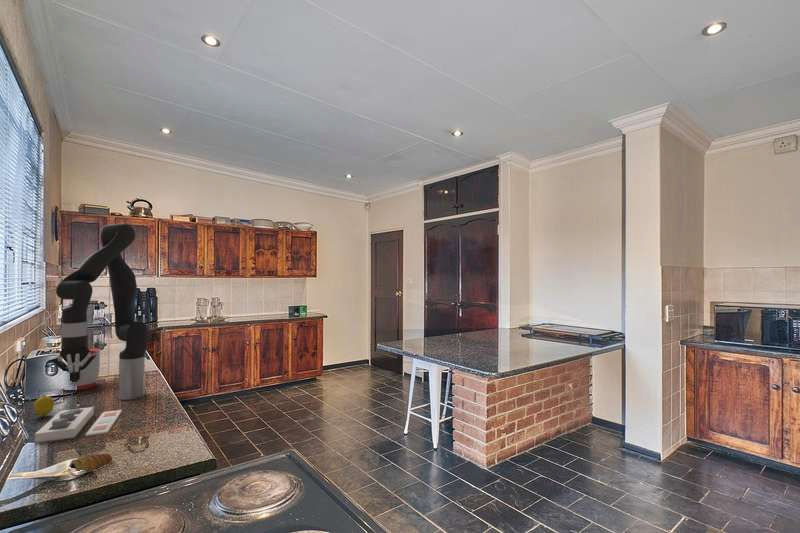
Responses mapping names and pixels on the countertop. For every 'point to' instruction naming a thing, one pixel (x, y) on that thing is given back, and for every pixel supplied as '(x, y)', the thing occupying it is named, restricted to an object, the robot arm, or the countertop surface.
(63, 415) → the button middle
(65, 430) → the button panel
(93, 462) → the pastry
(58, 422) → the button near
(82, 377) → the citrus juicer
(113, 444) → the countertop surface
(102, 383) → the countertop surface
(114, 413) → the pattern card
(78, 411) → the button far
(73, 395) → the countertop surface
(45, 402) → the lemon
